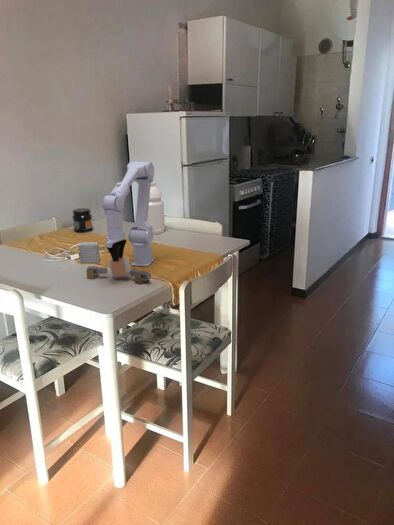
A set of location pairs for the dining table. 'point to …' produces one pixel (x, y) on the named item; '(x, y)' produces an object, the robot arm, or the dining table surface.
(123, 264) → the block
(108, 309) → the dining table surface
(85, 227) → the supplement container
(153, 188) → the bottle
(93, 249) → the medicine box
